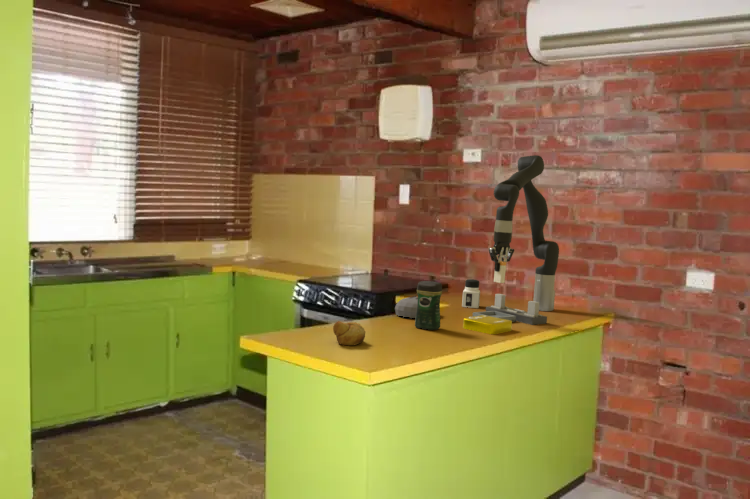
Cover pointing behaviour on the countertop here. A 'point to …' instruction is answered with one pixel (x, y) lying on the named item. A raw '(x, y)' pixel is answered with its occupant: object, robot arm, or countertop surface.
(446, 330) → the countertop surface
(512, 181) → the robot arm
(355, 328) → the bread roll
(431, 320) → the coffee jar
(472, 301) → the container
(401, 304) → the soft grey pack
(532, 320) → the fuse holder
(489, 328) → the element tile
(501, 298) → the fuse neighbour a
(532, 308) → the block
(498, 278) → the block
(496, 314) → the tray
